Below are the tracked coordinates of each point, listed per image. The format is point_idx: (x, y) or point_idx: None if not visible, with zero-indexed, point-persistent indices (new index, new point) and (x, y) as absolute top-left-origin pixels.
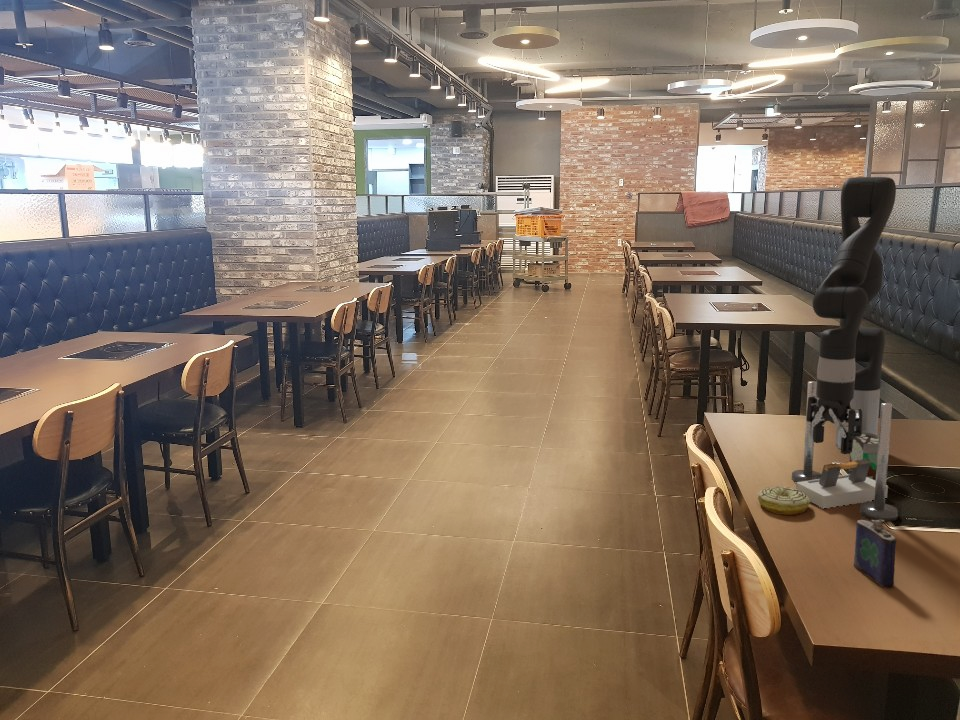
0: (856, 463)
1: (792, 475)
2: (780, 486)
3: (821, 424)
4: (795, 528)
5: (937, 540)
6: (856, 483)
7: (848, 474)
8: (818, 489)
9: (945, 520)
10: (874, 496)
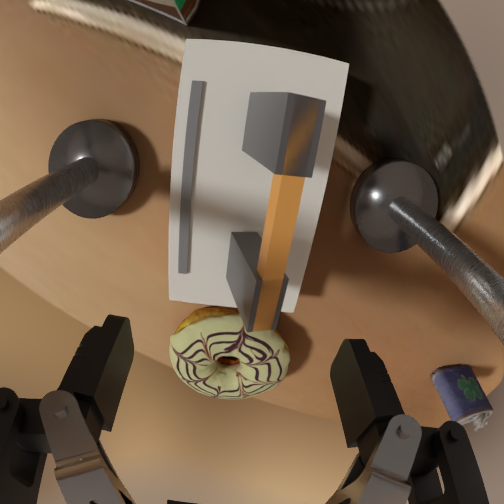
0: (299, 182)
1: (75, 212)
2: (189, 356)
3: (88, 422)
4: (318, 380)
5: (498, 219)
6: None
7: (180, 82)
8: None
9: (480, 105)
10: (406, 233)
